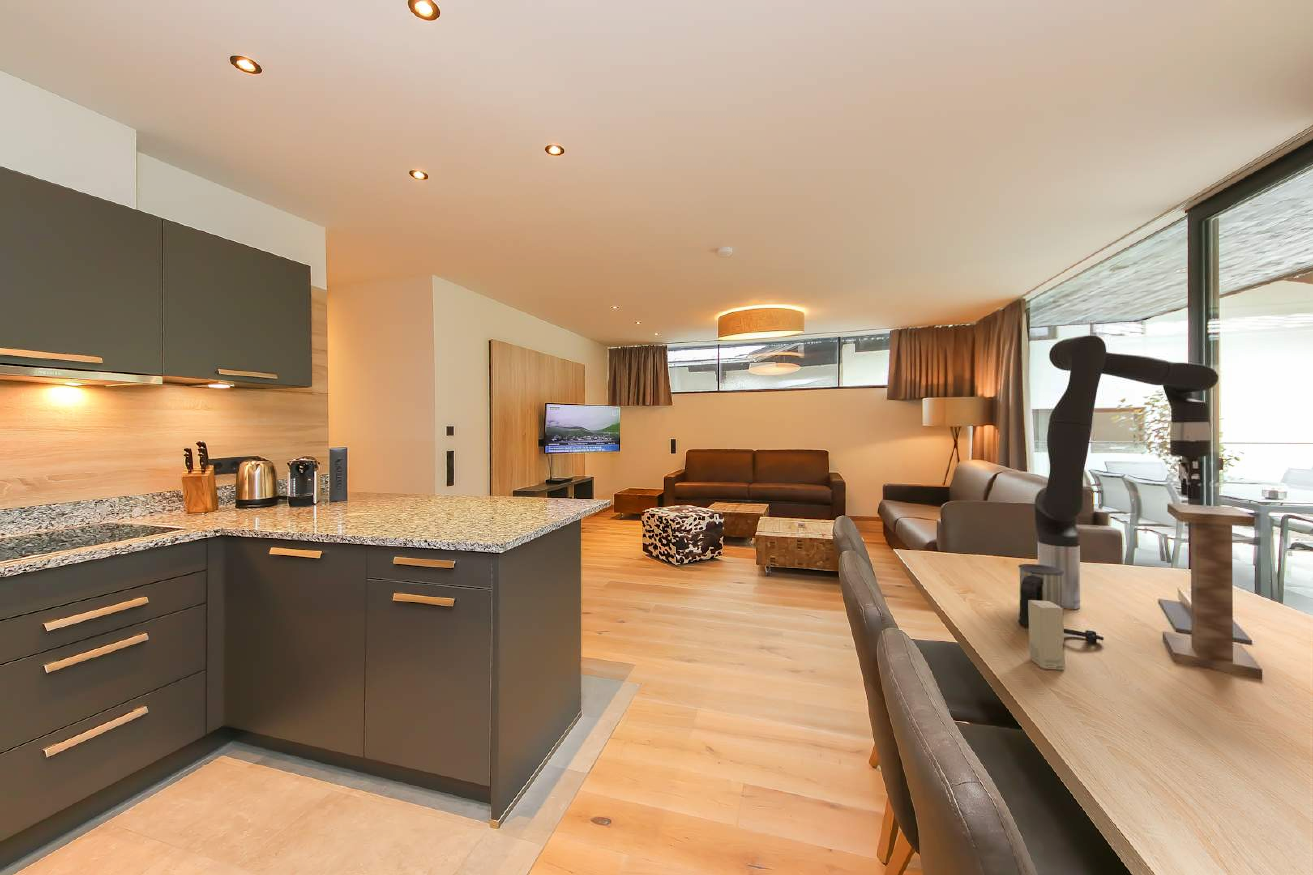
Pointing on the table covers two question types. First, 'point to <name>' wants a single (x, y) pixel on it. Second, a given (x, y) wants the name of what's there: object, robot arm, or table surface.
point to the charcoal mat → (1183, 620)
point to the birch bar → (1185, 598)
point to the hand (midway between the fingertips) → (1190, 497)
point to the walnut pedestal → (1211, 593)
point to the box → (1046, 634)
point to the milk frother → (1044, 593)
